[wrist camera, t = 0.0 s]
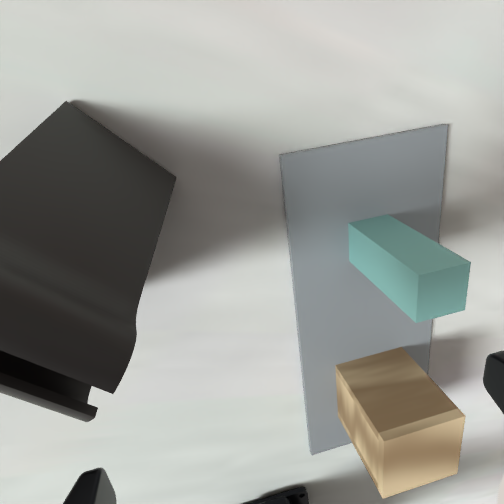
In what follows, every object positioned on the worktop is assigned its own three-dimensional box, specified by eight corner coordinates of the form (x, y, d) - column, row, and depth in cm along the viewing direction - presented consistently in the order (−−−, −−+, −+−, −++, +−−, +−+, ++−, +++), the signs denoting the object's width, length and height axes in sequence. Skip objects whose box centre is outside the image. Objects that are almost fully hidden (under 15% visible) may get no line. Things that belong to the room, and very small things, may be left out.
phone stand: (68, 99, 18) (-56, 130, 7) (176, 176, 20) (202, 283, 10) (-27, 249, 20) (-241, 453, 9) (84, 303, 22) (20, 512, 11)
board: (421, 416, 33) (423, 420, 33) (310, 451, 32) (311, 455, 31) (443, 123, 23) (447, 124, 22) (279, 154, 21) (281, 155, 21)
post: (387, 252, 25) (464, 310, 19) (349, 261, 25) (415, 323, 18) (387, 214, 24) (470, 262, 18) (348, 223, 23) (418, 275, 17)
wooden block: (399, 398, 31) (457, 473, 25) (338, 416, 30) (382, 498, 24) (401, 346, 29) (465, 416, 23) (335, 365, 28) (383, 441, 22)
